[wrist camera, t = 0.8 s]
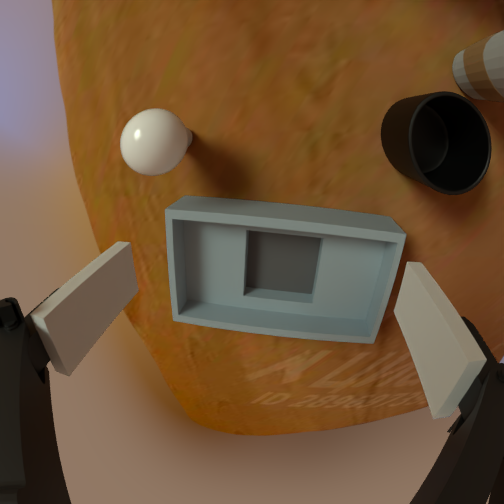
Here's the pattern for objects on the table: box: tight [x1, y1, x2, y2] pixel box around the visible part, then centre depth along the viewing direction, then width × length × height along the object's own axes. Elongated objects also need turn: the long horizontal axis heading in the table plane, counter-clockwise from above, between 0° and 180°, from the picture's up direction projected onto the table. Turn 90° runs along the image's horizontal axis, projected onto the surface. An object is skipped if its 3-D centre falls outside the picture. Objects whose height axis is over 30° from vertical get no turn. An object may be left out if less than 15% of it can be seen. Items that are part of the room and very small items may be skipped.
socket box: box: [165, 196, 406, 344], centre depth 34 cm, size 14×24×6 cm, turn 87°
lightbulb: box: [120, 108, 193, 176], centre depth 27 cm, size 6×6×11 cm
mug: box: [381, 91, 491, 195], centre depth 24 cm, size 9×12×9 cm
